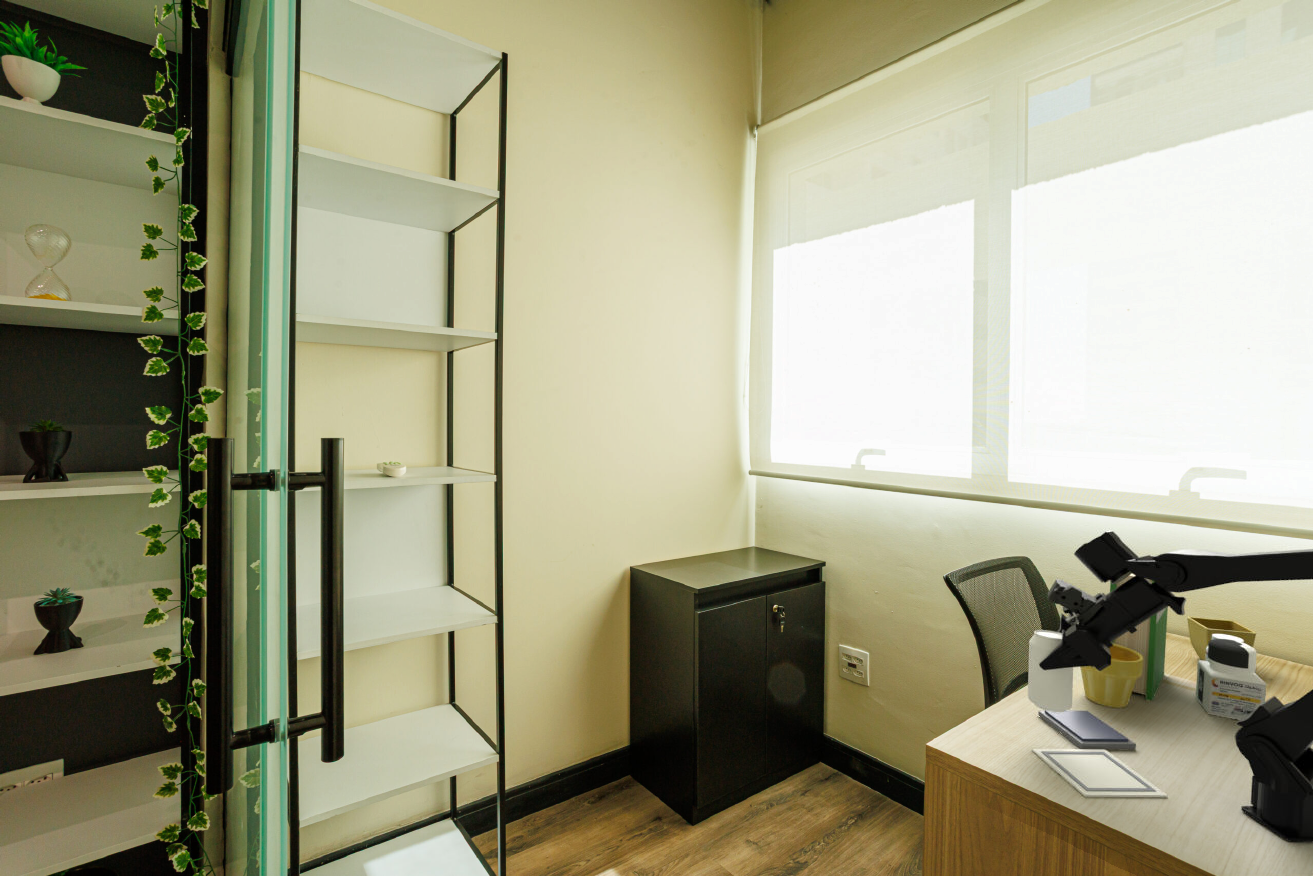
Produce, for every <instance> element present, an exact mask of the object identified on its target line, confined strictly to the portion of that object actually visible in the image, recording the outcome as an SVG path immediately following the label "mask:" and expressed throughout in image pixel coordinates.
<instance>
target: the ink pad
mask: <svg viewBox="0 0 1313 876" xmlns="http://www.w3.org/2000/svg"><path fill="white" fill-rule="evenodd" d="M1038 715H1039V716H1040V717H1041V718H1040V717H1039V716H1038ZM1038 715H1037V716H1038V717H1039V718H1040V719H1042V720H1043V719H1044V720H1045V721H1046V723H1047V724H1048V723H1049V724H1050V726H1051V727H1052V728H1053V727H1054V728H1055V730H1056V729H1057V730H1058V731H1059V732H1058V731H1057V730H1056V731H1057V732H1058V733H1060V732H1061V733H1062V734H1063V735H1062V734H1061V733H1060V734H1061V735H1062V736H1064V737H1065V736H1066V737H1065V738H1066V739H1068V740H1069V741H1070V742H1071V743H1072V744H1073V745H1075V746H1076V747H1078V749H1105V750H1106V749H1116V750H1118V749H1132V750H1131V751H1135V750H1134V749H1137V744H1136V743H1135V742H1134V741H1133V740H1131V739H1130V738H1128V737H1127V736H1126V735H1124V734H1122V733H1120V732H1119V731H1118V730H1117V729H1115V728H1114V727H1113V726H1110V725H1109V724H1107V722H1105V721H1103V720H1102V719H1100V718H1098V717H1097V716H1096V715H1094V714H1093V713H1092V712H1089V711H1088V710H1066V711H1064V712H1051V711H1046V710H1038ZM1044 720H1043V721H1044ZM1045 721H1044V722H1045ZM1049 724H1048V725H1049ZM1116 750H1115V751H1116ZM1118 751H1119V750H1118Z"/></svg>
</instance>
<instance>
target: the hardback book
mask: <svg viewBox="0 0 1313 876" xmlns="http://www.w3.org/2000/svg"><path fill="white" fill-rule="evenodd" d="M1134 576H1136V575H1134V574H1131V575H1129V576H1128V577H1127V578H1125V579H1123V580H1122V581H1120V582H1118V583H1116V584H1112V583H1111V582H1110V581H1109V582H1110V583H1109V584H1110V585H1109V593H1110V592H1111V591H1113V590H1114V589H1116V588H1117V587H1119V586H1120V585H1122V584H1123V583H1125V582H1126V581H1128V580H1129V579H1131V578H1132V577H1134ZM1148 580H1149V579H1148ZM1149 581H1150V582H1151V583H1154V582H1155V581H1153V580H1149ZM1168 609H1169V606H1168V607H1167V608H1165V609H1163V610H1162V611H1160V612H1158V613H1157V614H1155V615H1154V616H1152V617H1150V618H1149V619H1147V620H1146V621H1144V622H1142V623H1141V624H1139V625H1138V626H1136V628H1137V631H1136V632H1134V633H1132V634H1131V633H1130V632H1129V631H1128V632H1126V633H1125V634H1123V635H1121V636H1120V637H1118V638H1117V639H1115V640H1113V641H1112V642H1113V644H1117V645H1120V646H1124V647H1127V648H1129V649H1132V650H1134V651H1136V652H1138V653H1139V654H1141V655H1142V657H1143V671H1142V675H1141V676H1140V677H1138V678H1137V680H1136V682H1135V685H1134V688H1133V691H1132V693H1137V694H1141V695H1144V696H1145V700H1146V701H1149V700H1150V702H1153V700H1154V698H1155V696H1154V695H1156V693H1157V691H1158V689H1159V687H1160V685H1161V682H1162V680H1163V678H1164V677H1165V663H1166V645H1167V644H1166V642H1167V629H1168V627H1167V626H1168Z"/></svg>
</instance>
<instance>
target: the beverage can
mask: <svg viewBox="0 0 1313 876" xmlns="http://www.w3.org/2000/svg"><path fill="white" fill-rule="evenodd" d="M1061 642H1062V633H1059V632H1057V631H1055V630H1046V629H1045V630H1044V629H1036V630H1034V633H1033V635H1032V637H1031V638H1030V639H1029V642H1028V645H1029V646H1028V647H1029V648H1028V675H1027V676H1028V677H1027V678H1028V679H1027V680H1028V683H1027V698H1028V700H1029V701H1030V702H1031V703H1033V704H1034V706H1035V707H1036V708H1039V709H1041V710H1042V711H1045V710H1046V711H1051V712H1064V711H1070V710H1071V709H1072V708H1073V707H1072V706H1073V693H1074V691H1073V687H1074V684H1073V682H1074V681H1073V680H1074V667H1070V668H1061V669H1052V670H1043V669H1042V668H1041V667H1040V666H1039V663H1040V662H1042V661H1043V660H1044V659H1045V658H1046V657H1047V656H1048V655H1049V654H1050V653H1051V652H1052V651H1053V650H1054V649H1055V648H1056V647H1057V646H1058V645H1059V644H1060V643H1061Z"/></svg>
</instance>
